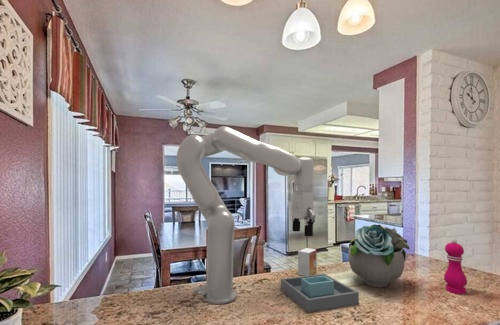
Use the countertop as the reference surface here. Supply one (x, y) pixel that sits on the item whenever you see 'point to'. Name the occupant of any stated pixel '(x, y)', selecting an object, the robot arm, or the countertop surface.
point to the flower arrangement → (377, 255)
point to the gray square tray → (339, 299)
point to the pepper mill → (455, 269)
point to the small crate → (317, 286)
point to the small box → (307, 262)
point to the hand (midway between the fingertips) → (302, 233)
